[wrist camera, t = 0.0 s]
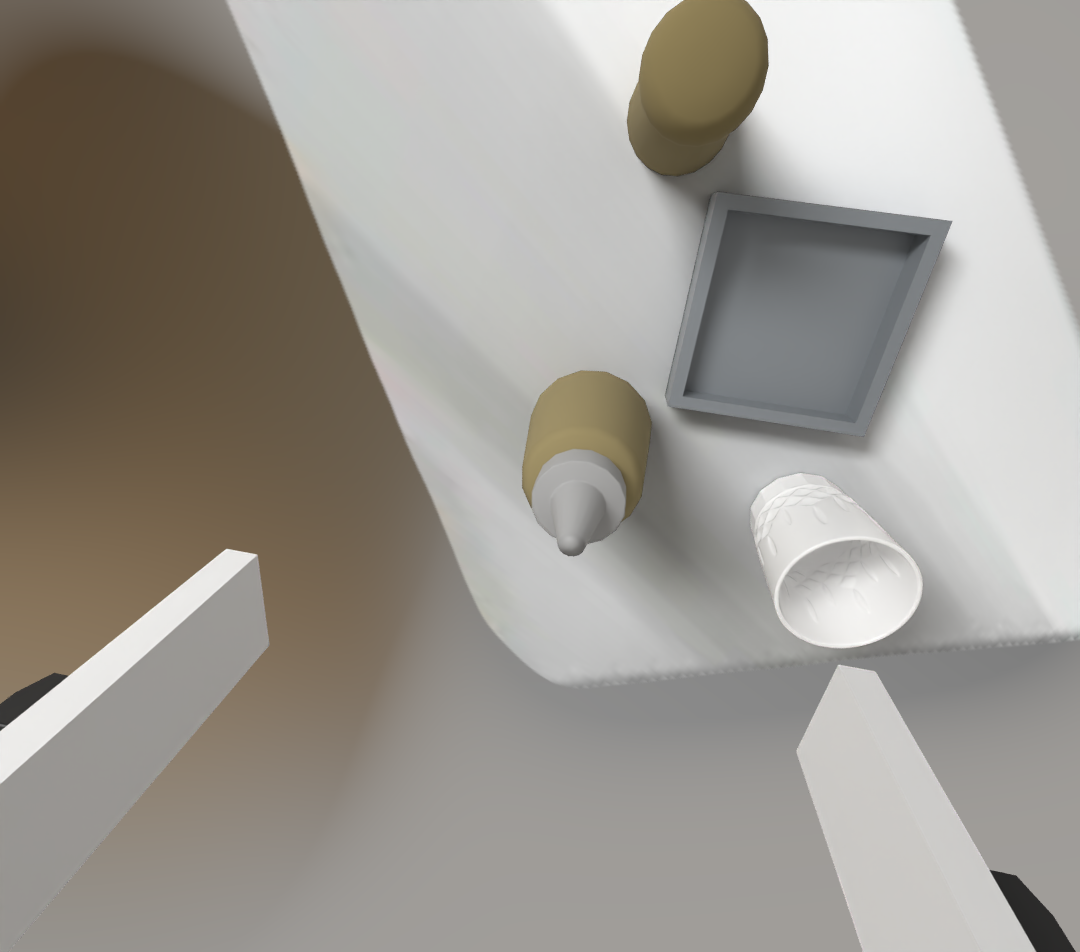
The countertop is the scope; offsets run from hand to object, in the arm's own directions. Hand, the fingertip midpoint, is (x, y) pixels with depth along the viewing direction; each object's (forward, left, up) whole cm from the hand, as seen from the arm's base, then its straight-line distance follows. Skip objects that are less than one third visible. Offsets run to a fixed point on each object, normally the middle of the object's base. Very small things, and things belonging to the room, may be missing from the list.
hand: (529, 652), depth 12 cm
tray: (-5, +12, -28) cm, 31 cm away
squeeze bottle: (+3, +1, -28) cm, 28 cm away
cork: (-15, +3, -28) cm, 32 cm away
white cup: (+9, +17, -28) cm, 34 cm away
